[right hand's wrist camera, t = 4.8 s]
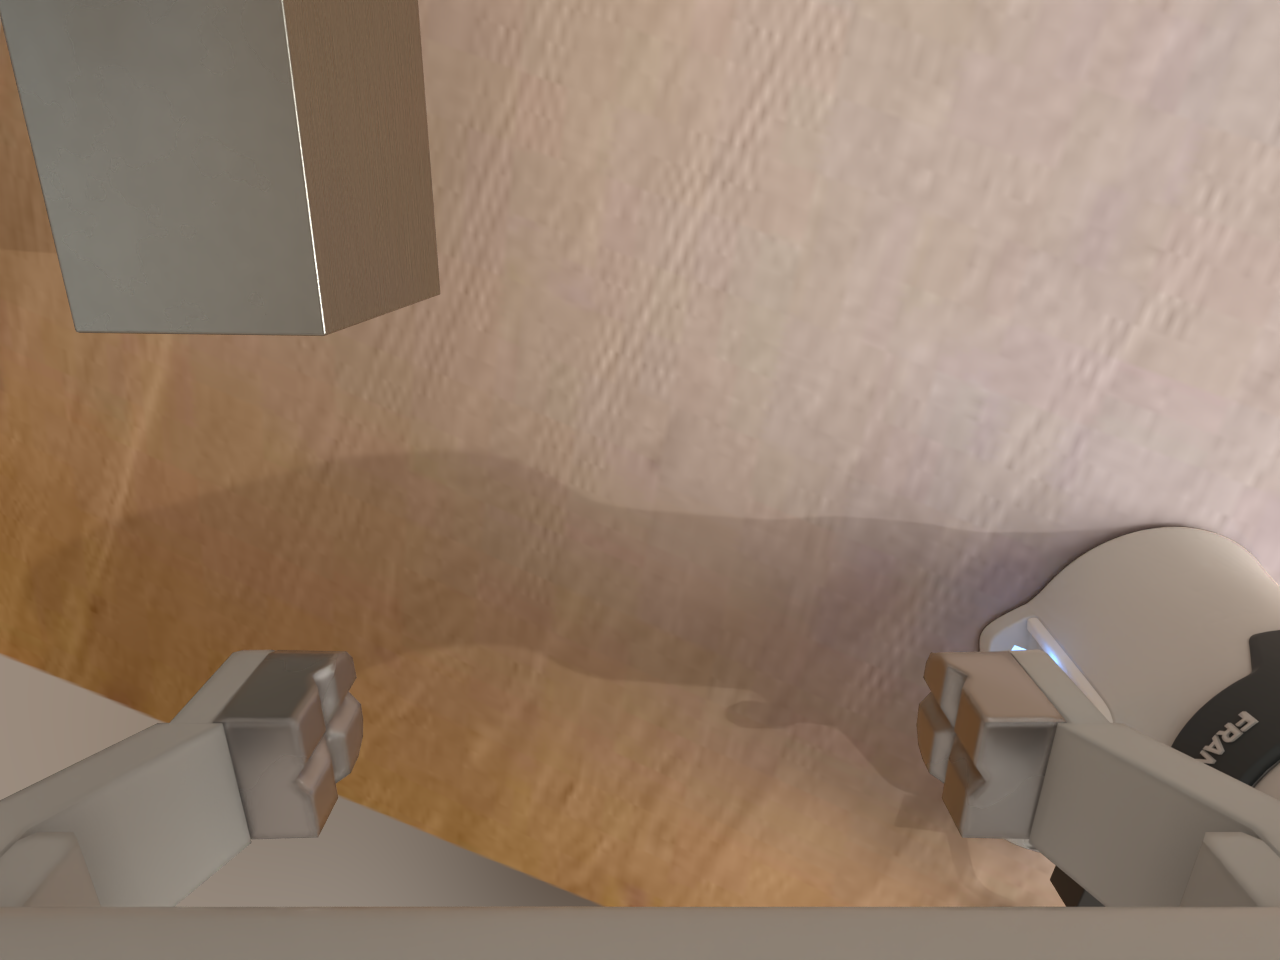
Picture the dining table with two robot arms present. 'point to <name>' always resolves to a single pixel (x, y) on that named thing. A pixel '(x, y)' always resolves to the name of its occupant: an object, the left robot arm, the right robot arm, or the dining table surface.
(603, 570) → the dining table surface
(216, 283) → the box
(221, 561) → the dining table surface
